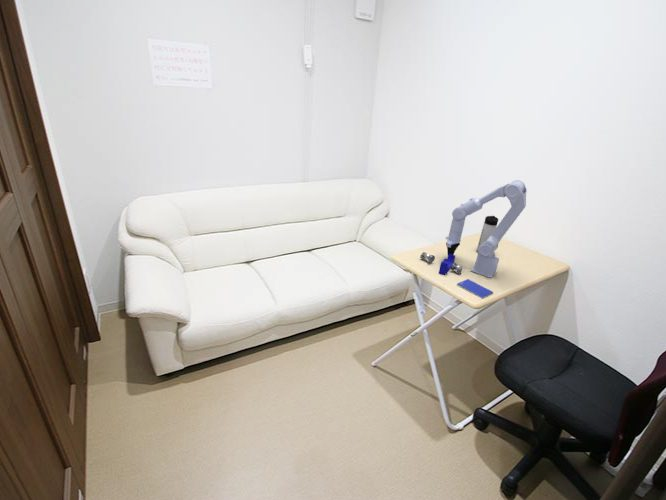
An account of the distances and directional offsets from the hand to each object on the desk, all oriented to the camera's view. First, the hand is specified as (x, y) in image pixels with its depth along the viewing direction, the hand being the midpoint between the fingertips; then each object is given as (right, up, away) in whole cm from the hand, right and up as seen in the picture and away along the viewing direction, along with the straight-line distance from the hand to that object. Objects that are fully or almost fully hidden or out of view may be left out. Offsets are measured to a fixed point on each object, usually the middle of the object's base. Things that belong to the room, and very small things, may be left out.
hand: (450, 256), depth 172 cm
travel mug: (+22, +2, +13) cm, 26 cm away
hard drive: (+3, -15, -23) cm, 28 cm away
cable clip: (-5, -6, -8) cm, 12 cm away
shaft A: (-1, -7, -11) cm, 13 cm away
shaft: (-12, -2, -2) cm, 12 cm away
